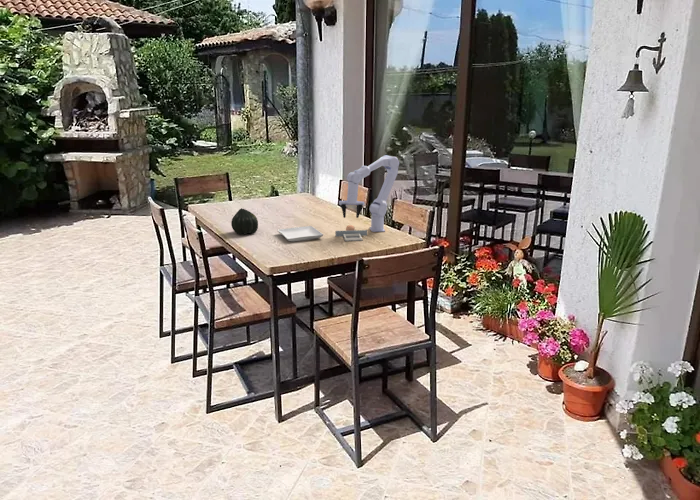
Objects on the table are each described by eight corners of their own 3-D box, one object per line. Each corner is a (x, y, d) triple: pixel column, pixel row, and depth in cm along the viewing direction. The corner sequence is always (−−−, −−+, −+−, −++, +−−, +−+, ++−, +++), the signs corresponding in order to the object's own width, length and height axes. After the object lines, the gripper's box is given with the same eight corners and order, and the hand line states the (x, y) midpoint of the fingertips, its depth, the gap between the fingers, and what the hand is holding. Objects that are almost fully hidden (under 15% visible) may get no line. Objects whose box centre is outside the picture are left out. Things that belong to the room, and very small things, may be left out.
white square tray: (342, 236, 303) (342, 233, 303) (360, 236, 304) (360, 233, 304) (344, 241, 294) (344, 238, 293) (362, 240, 295) (362, 238, 294)
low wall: (335, 236, 304) (335, 230, 303) (366, 235, 306) (366, 230, 305) (335, 236, 303) (335, 231, 302) (367, 235, 305) (367, 230, 304)
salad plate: (287, 244, 289) (287, 238, 288) (276, 234, 307) (276, 228, 306) (324, 240, 297) (324, 234, 296) (311, 231, 316) (311, 225, 315)
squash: (258, 227, 299) (256, 204, 305) (230, 229, 297) (229, 206, 303) (259, 239, 312) (257, 216, 318) (233, 241, 310) (232, 218, 316)
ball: (345, 232, 311) (345, 224, 310) (353, 232, 312) (354, 224, 311) (346, 234, 307) (346, 226, 305) (355, 234, 307) (355, 226, 306)
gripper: (362, 193, 308) (361, 216, 311) (338, 192, 304) (336, 215, 307) (366, 195, 301) (364, 218, 305) (341, 194, 297) (339, 218, 301)
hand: (350, 217), depth 306 cm, fingers open, 7 cm apart
